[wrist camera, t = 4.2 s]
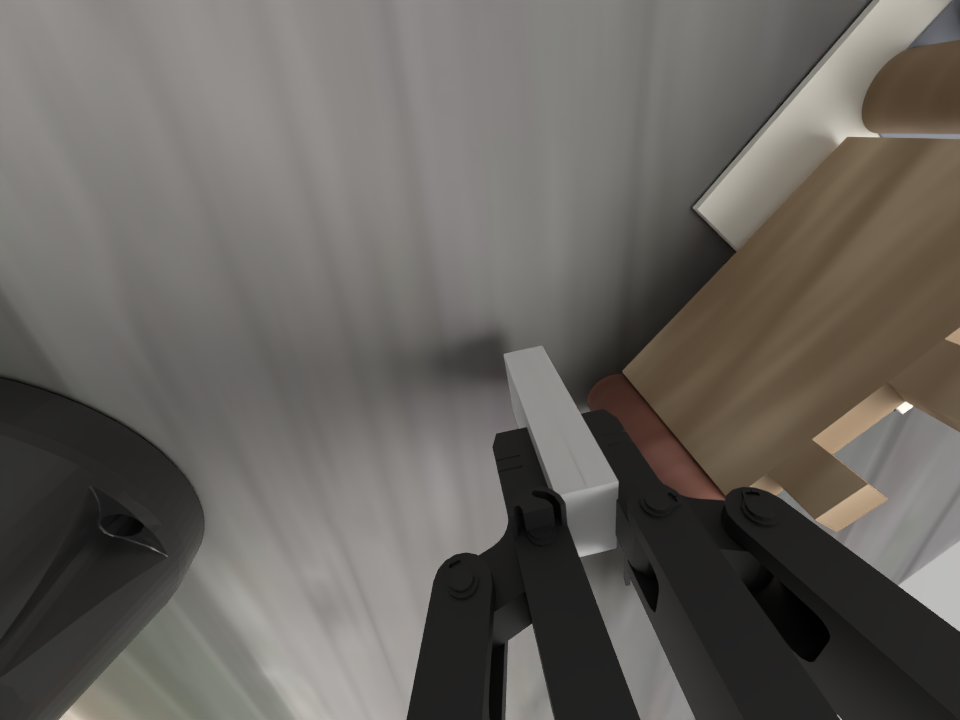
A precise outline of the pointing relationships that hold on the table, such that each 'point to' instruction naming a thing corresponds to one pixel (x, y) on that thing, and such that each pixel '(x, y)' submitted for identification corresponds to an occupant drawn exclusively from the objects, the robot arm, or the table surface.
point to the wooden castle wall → (916, 92)
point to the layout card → (822, 116)
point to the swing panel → (810, 335)
